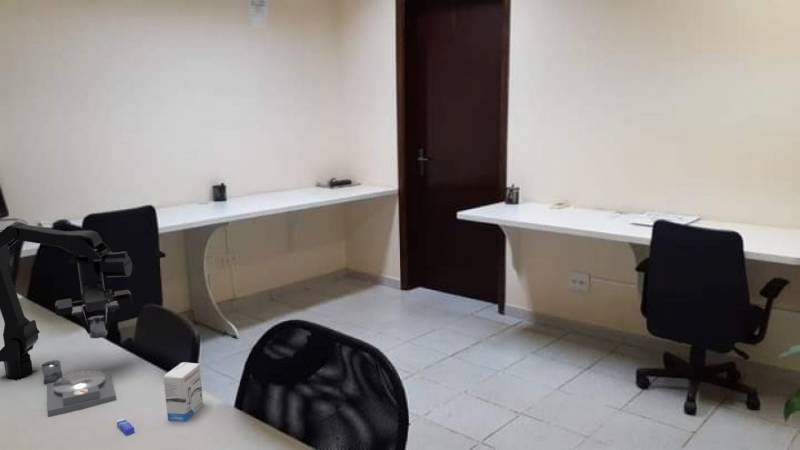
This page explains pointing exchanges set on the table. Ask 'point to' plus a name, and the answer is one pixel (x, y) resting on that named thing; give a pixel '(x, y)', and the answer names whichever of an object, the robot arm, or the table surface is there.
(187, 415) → the ink box
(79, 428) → the table surface
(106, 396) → the scale
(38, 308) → the table surface
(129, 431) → the eraser
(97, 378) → the scale pan
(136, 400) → the table surface
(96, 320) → the cylinder
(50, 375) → the cylinder
